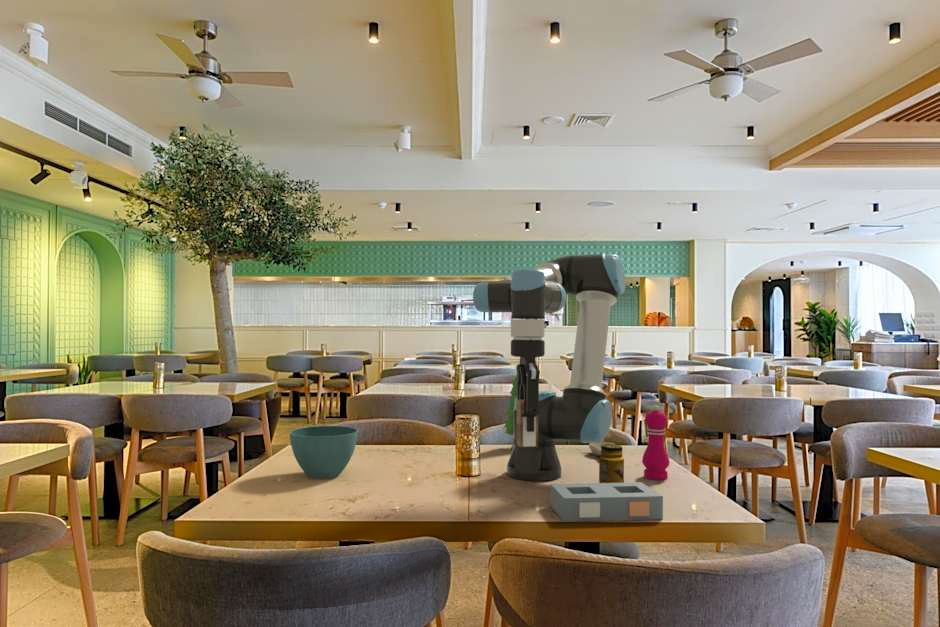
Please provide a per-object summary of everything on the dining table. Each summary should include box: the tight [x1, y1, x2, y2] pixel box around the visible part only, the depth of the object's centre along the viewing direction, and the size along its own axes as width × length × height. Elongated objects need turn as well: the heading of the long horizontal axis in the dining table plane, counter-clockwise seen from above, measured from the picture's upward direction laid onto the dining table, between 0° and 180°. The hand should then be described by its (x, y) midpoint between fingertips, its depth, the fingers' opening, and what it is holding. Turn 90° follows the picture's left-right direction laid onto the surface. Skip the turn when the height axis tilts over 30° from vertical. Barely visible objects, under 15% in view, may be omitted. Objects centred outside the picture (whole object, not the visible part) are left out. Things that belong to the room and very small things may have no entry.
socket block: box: [549, 481, 664, 523], centre depth 142 cm, size 22×13×5 cm, turn 97°
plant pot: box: [289, 425, 359, 480], centre depth 173 cm, size 18×18×12 cm
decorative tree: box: [503, 375, 517, 450], centre depth 213 cm, size 10×9×30 cm
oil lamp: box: [588, 430, 617, 457], centre depth 204 cm, size 9×21×10 cm, turn 176°
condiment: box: [598, 443, 625, 483], centre depth 158 cm, size 7×8×12 cm
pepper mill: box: [641, 404, 670, 481], centre depth 175 cm, size 7×7×20 cm
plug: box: [516, 399, 538, 447], centre depth 140 cm, size 4×4×10 cm
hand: (527, 443), depth 140 cm, fingers closed on plug, 4 cm apart
